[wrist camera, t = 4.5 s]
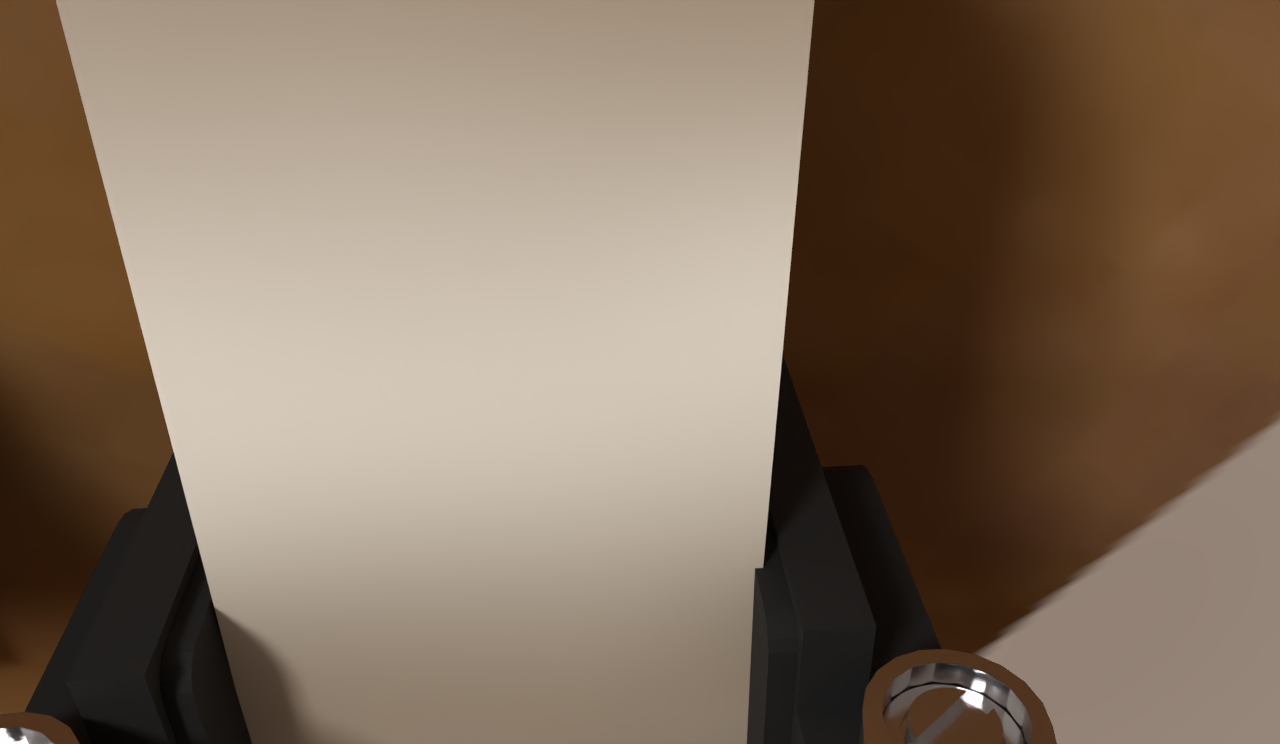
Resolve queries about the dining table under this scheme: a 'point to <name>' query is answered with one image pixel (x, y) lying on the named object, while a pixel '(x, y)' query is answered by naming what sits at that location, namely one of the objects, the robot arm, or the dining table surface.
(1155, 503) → the dining table surface
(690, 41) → the ash bar
